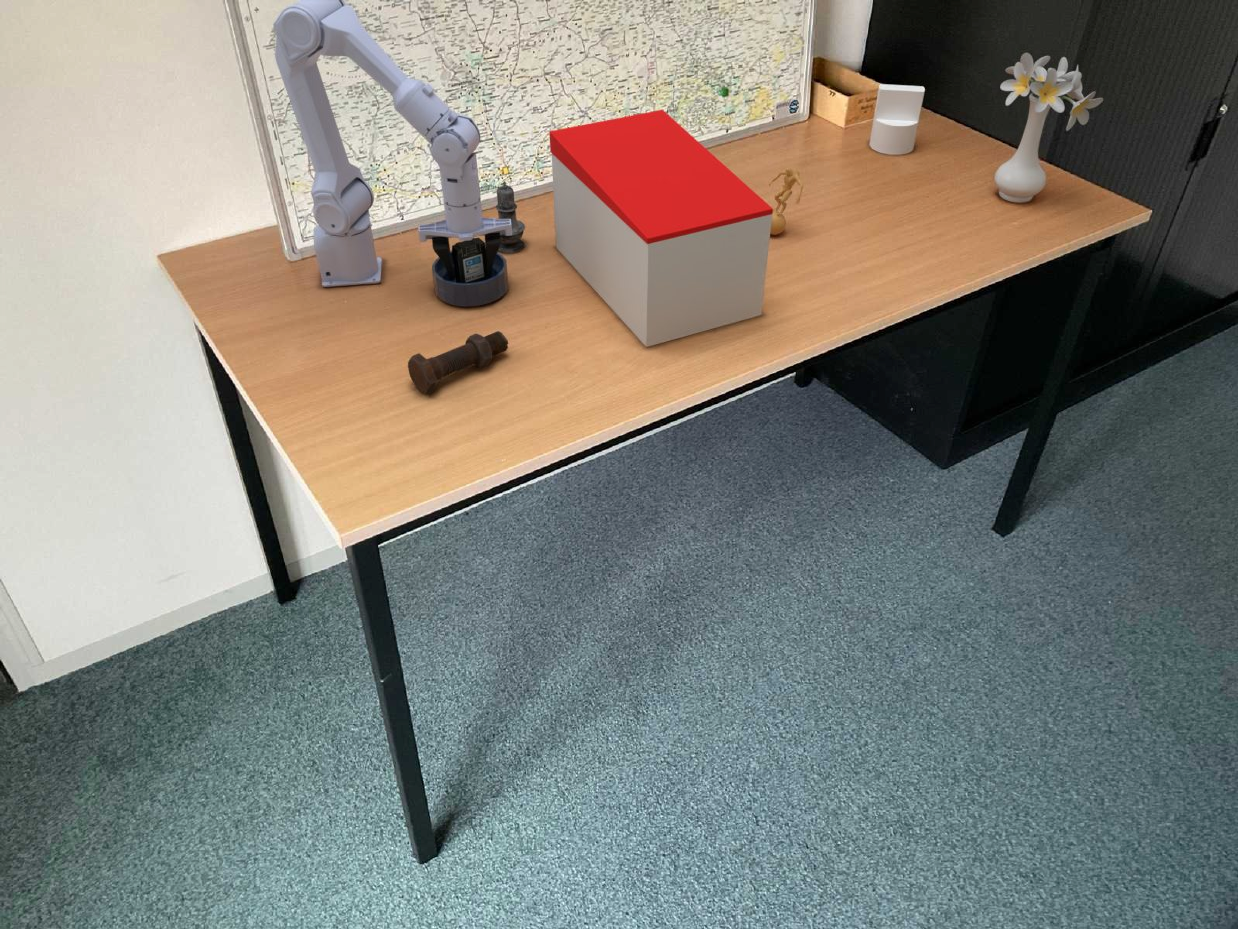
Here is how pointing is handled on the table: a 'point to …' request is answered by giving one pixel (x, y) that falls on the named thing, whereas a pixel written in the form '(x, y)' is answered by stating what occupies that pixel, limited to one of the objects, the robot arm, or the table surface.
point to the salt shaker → (508, 212)
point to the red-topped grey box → (658, 226)
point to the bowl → (470, 285)
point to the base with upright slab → (896, 118)
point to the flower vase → (1038, 121)
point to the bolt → (455, 360)
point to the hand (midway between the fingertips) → (470, 276)
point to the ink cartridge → (470, 261)
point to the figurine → (784, 198)
